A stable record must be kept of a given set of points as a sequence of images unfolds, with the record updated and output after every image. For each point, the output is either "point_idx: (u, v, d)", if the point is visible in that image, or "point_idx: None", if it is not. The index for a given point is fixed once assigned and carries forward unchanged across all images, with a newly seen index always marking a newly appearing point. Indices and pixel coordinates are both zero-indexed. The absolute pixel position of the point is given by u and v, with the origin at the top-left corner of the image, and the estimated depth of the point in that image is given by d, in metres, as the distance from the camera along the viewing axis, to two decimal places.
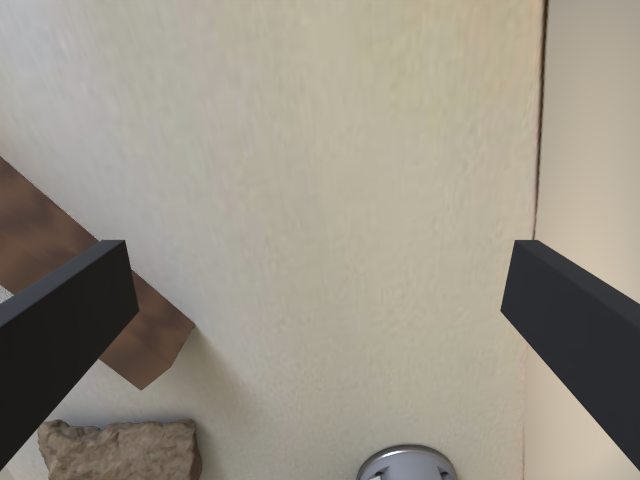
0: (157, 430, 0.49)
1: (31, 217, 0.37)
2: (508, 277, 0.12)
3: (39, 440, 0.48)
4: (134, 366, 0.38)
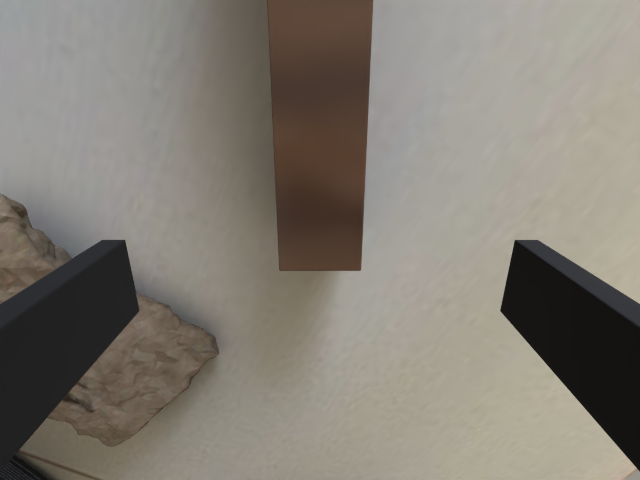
0: (172, 325, 0.30)
1: None
2: (508, 277, 0.12)
3: None
4: (313, 231, 0.21)
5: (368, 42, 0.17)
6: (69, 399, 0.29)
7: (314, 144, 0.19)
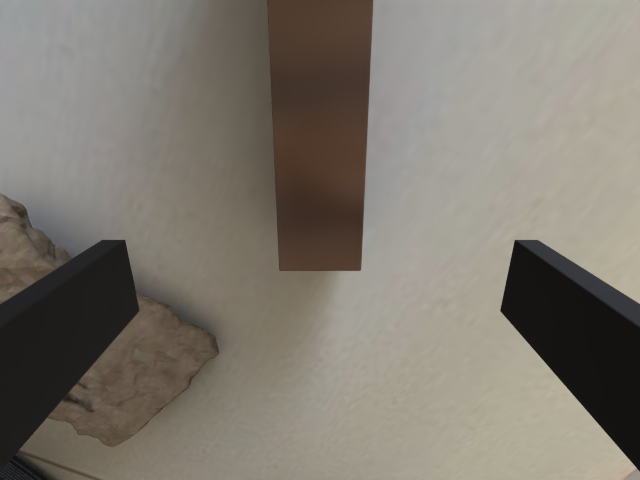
0: (172, 325, 0.30)
1: None
2: (508, 277, 0.12)
3: None
4: (313, 231, 0.21)
5: (368, 42, 0.17)
6: (69, 399, 0.29)
7: (314, 144, 0.19)
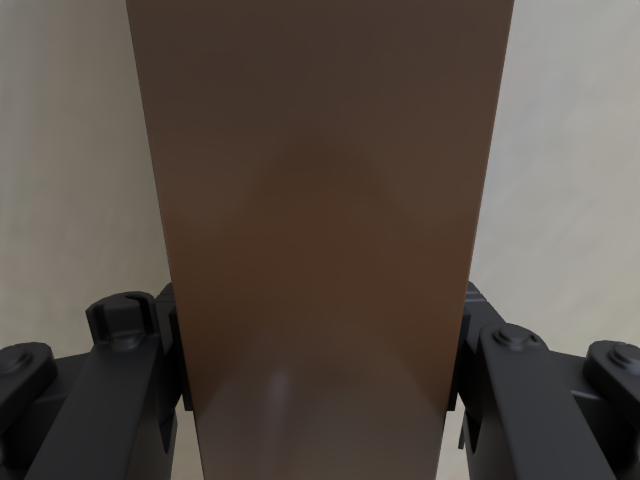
0: None
1: None
2: None
3: None
4: (300, 463, 0.07)
5: None
6: None
7: (302, 241, 0.06)
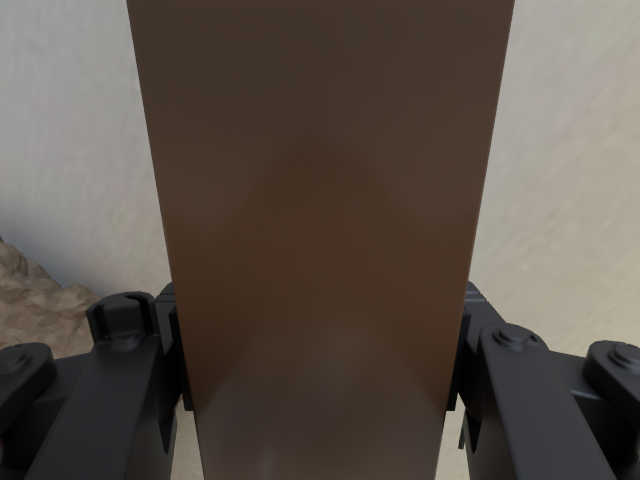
0: None
1: None
2: None
3: None
4: (300, 462, 0.08)
5: None
6: None
7: (302, 240, 0.06)
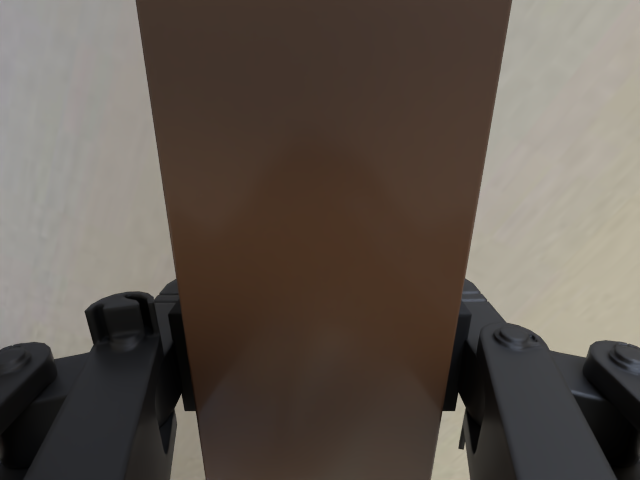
0: None
1: None
2: None
3: None
4: (299, 456, 0.08)
5: None
6: None
7: (304, 236, 0.06)
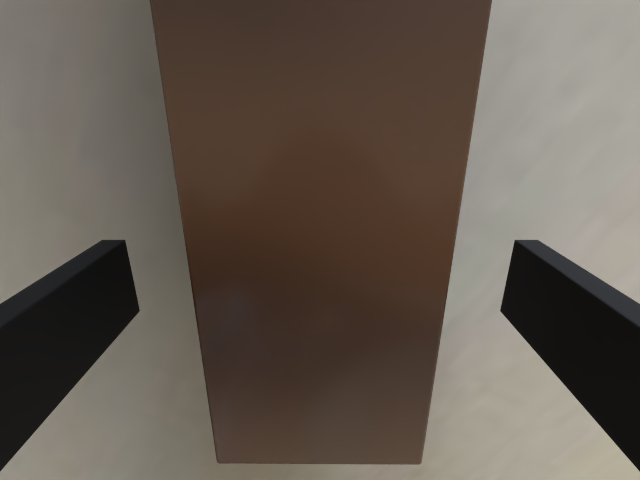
0: None
1: None
2: (508, 277, 0.12)
3: None
4: (301, 383, 0.08)
5: None
6: None
7: (303, 148, 0.06)
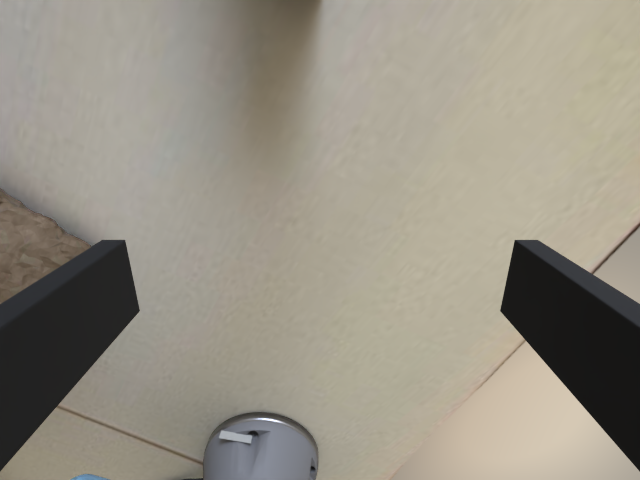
0: (55, 235, 0.35)
1: None
2: (508, 277, 0.12)
3: None
4: None
5: None
6: None
7: None
